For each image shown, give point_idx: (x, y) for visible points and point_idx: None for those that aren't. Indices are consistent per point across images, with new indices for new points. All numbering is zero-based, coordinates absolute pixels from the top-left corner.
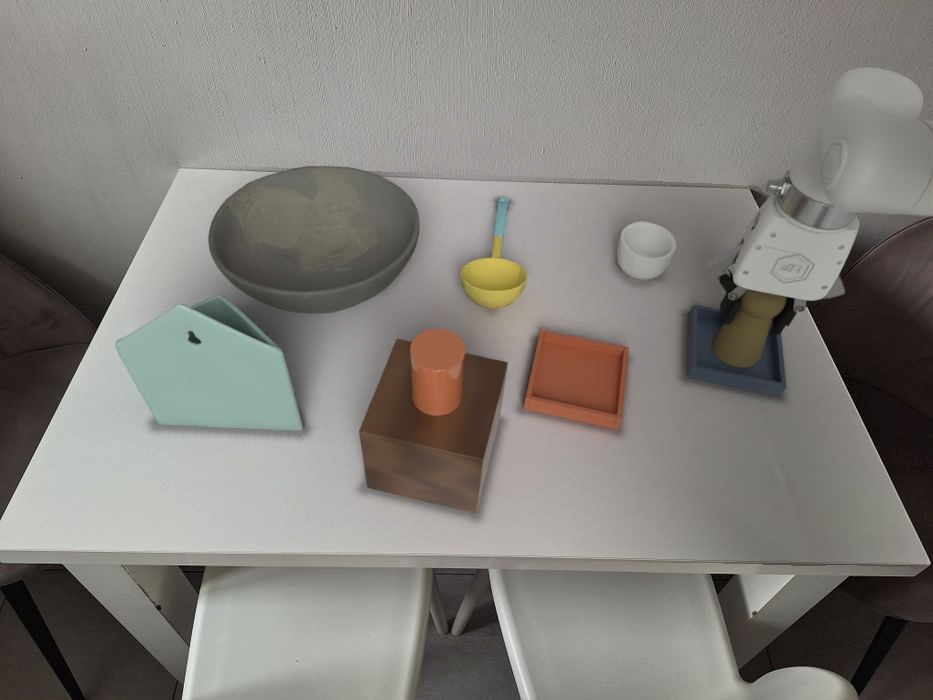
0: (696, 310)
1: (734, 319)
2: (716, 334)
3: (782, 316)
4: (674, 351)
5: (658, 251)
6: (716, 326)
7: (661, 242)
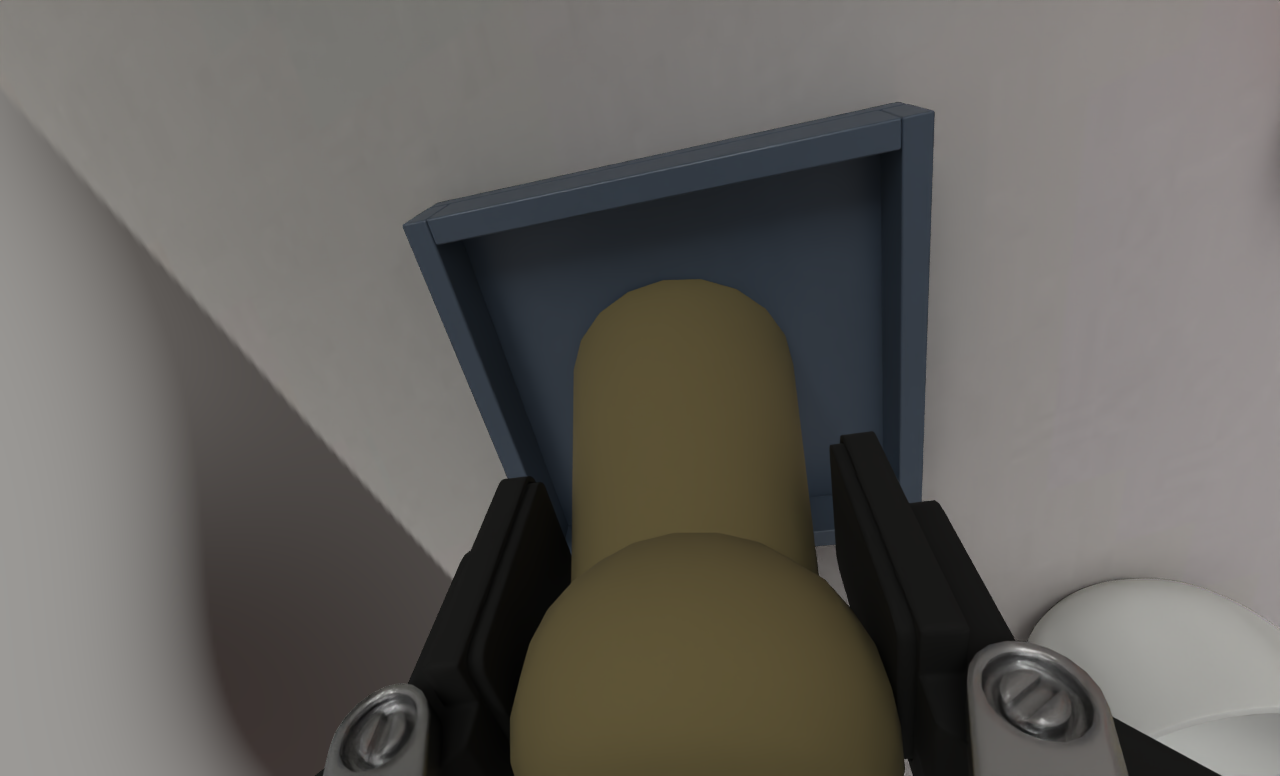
0: None
1: (799, 491)
2: None
3: (508, 609)
4: (967, 262)
5: None
6: None
7: None
